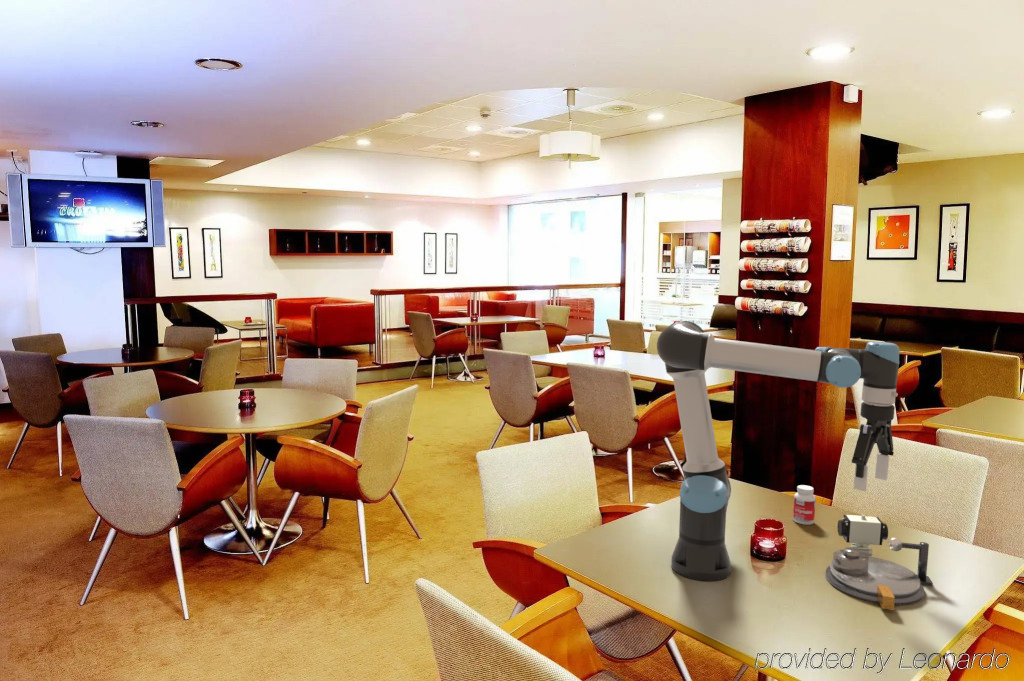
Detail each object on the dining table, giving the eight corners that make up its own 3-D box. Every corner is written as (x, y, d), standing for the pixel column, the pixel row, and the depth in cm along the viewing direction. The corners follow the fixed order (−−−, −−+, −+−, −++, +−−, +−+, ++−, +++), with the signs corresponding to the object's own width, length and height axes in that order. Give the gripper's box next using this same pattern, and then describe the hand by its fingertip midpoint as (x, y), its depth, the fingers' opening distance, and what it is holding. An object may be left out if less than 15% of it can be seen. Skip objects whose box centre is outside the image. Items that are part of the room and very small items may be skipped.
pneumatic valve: (886, 562, 186) (889, 519, 185) (839, 558, 189) (842, 516, 187) (879, 554, 192) (882, 512, 190) (834, 550, 194) (837, 509, 193)
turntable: (840, 602, 162) (841, 590, 162) (824, 558, 186) (825, 547, 186) (937, 615, 156) (938, 603, 156) (907, 568, 181) (908, 557, 180)
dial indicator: (887, 580, 176) (890, 540, 174) (884, 573, 180) (886, 534, 178) (932, 586, 173) (935, 545, 172) (927, 579, 177) (931, 539, 175)
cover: (835, 574, 172) (836, 554, 172) (830, 560, 180) (831, 542, 180) (870, 578, 170) (872, 559, 170) (864, 564, 178) (865, 546, 177)
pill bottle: (791, 523, 214) (793, 488, 213) (793, 516, 220) (795, 483, 218) (813, 526, 211) (815, 491, 210) (815, 520, 217) (817, 486, 215)
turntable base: (832, 597, 167) (833, 592, 166) (819, 560, 188) (820, 555, 187) (935, 611, 160) (936, 606, 160) (910, 570, 181) (911, 566, 181)
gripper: (874, 412, 164) (866, 498, 166) (912, 399, 180) (904, 478, 183) (841, 406, 169) (834, 490, 172) (881, 395, 186) (874, 471, 189)
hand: (870, 484), depth 177 cm, fingers open, 13 cm apart
